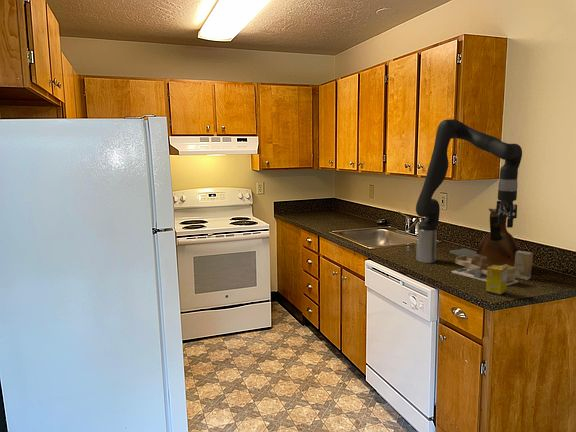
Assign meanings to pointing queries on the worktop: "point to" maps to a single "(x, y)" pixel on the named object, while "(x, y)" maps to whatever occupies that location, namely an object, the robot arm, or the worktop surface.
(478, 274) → the stand
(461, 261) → the beam
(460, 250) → the soap mold
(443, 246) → the worktop surface
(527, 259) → the skincare box
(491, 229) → the ceramic pitcher
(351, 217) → the worktop surface
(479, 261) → the block
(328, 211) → the worktop surface
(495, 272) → the supplement box
